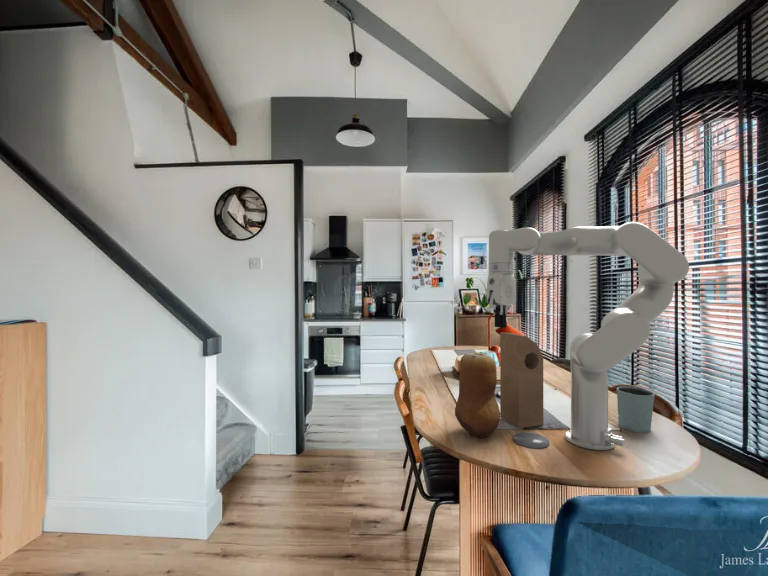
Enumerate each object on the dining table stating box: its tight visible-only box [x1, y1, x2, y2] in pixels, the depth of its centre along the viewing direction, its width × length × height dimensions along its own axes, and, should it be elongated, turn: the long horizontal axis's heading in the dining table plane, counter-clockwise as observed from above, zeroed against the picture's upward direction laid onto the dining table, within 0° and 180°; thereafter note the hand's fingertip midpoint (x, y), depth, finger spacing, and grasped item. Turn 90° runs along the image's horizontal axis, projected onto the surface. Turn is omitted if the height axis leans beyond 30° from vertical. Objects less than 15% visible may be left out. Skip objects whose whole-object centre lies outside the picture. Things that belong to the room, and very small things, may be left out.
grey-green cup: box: [616, 386, 656, 433], centre depth 117 cm, size 10×10×12 cm
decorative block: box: [499, 331, 544, 429], centre depth 122 cm, size 10×10×30 cm
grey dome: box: [512, 431, 551, 449], centre depth 107 cm, size 10×10×1 cm
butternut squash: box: [454, 352, 501, 438], centre depth 112 cm, size 14×13×25 cm
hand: (500, 327), depth 115 cm, fingers closed
